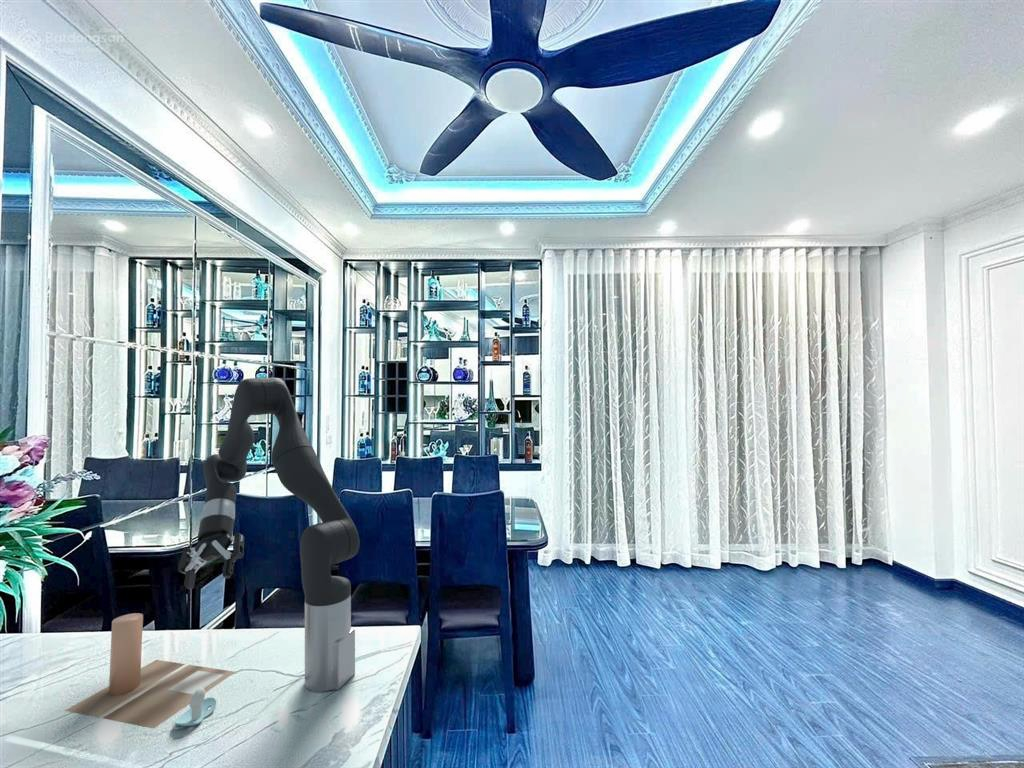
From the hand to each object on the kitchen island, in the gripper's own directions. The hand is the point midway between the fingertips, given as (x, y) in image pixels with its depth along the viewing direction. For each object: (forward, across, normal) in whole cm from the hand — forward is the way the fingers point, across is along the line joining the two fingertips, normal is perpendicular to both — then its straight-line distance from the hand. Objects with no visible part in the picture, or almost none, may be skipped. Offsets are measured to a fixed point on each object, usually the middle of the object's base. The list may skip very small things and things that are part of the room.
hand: (208, 582), depth 110 cm
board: (+21, -7, -1) cm, 22 cm away
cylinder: (+18, -13, -1) cm, 23 cm away
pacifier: (+30, +5, -6) cm, 31 cm away
